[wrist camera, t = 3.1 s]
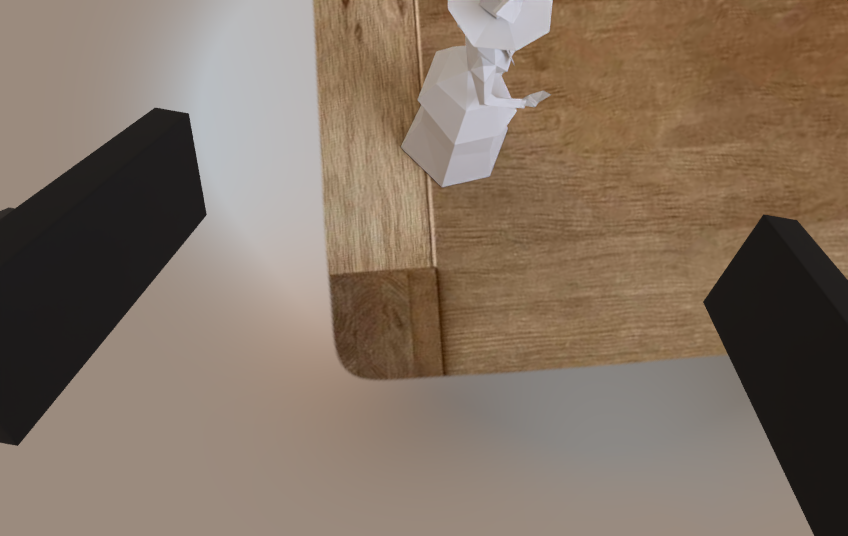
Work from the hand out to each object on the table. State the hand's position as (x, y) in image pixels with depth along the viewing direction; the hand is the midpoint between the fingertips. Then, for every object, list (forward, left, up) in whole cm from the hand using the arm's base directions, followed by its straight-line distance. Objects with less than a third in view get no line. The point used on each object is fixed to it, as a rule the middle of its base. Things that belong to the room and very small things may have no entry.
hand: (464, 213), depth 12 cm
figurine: (-9, +6, -24) cm, 27 cm away
